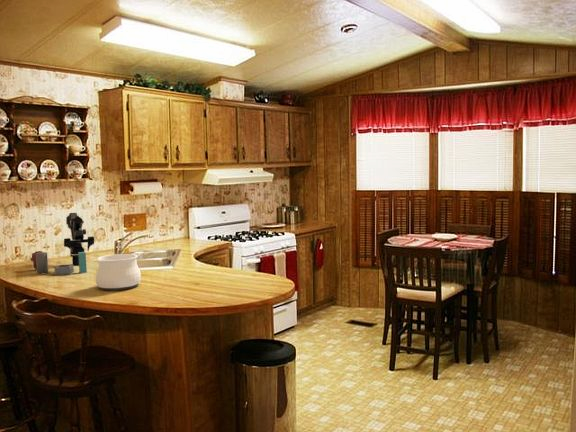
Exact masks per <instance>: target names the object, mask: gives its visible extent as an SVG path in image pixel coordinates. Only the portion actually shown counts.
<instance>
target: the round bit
mask: <svg viewBox="0 0 576 432" xmlns="http://www.w3.org/2000/svg"><path fill="white" fill-rule="evenodd" d="M48 260H49V259H48V252H47V251H46V252H44V251H42V253H36V264H37V271H36V274H37V273H39V274H38V275H43V274H42V273H46V274H48V273H49V263H48V262H49V261H48Z"/></svg>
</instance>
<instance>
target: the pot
mask: <svg viewBox="0 0 576 432" xmlns="http://www.w3.org/2000/svg"><path fill="white" fill-rule="evenodd" d="M141 255H142V254H141V253H140V252H133V253H121V254H119V253H118V254H117V253H116V254H107V255H102V256H98V257H97V258H96V259H93V260H92V261H93V262H97V263H98V268H97V271H96V274H95V284H96V286H97V287H98V288H99V289H100V290H102V291H107V292H108V291H112V292H113V291H116V292H117V291H124V290H129V289H133V288H135V287H137V286H139V285H140V283H141V280H142V274H141V270H140V268H139V266H138V262H137V258H138V257H139V256H141Z"/></svg>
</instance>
